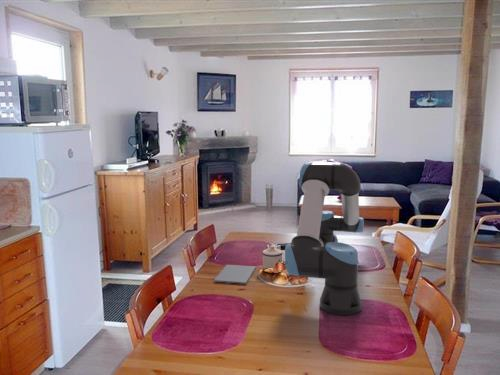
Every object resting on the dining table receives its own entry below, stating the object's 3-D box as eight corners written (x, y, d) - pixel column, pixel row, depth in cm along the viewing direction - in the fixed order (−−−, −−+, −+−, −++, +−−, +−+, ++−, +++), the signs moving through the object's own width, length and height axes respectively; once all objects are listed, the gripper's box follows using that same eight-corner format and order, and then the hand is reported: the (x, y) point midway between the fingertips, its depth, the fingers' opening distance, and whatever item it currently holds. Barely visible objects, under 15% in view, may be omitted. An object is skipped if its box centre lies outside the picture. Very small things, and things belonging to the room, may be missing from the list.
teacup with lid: (280, 275, 195) (280, 249, 193) (260, 273, 197) (260, 248, 195) (284, 266, 206) (285, 242, 204) (266, 264, 208) (265, 241, 206)
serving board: (246, 284, 184) (246, 282, 184) (214, 282, 187) (214, 280, 187) (255, 268, 203) (255, 266, 203) (226, 266, 206) (226, 264, 206)
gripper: (330, 259, 207) (297, 269, 194) (294, 247, 226) (262, 255, 214) (331, 243, 205) (297, 252, 193) (294, 233, 225) (262, 240, 212)
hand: (279, 254), depth 203 cm, fingers open, 13 cm apart
